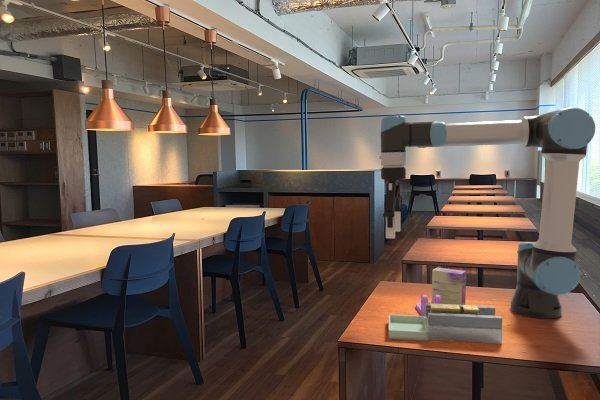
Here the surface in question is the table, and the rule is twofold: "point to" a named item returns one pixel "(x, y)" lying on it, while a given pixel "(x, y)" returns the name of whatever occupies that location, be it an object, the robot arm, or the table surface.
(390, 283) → the table surface
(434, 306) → the khaki cube
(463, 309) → the beige cube
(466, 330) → the channel
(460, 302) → the box
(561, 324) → the table surface
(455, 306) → the tan cube
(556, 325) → the table surface
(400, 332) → the tray
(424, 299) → the bracket
